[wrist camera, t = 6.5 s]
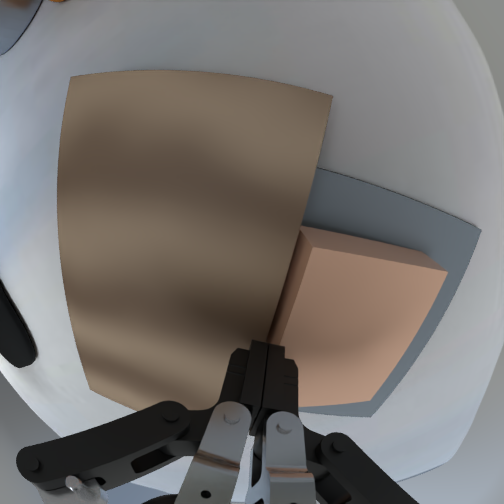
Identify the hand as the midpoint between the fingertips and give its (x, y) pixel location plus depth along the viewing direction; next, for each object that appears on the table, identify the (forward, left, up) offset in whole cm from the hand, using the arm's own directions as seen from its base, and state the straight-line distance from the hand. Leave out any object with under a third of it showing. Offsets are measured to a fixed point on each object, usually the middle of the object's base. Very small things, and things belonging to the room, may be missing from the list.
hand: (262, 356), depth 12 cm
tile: (0, +4, -4) cm, 5 cm away
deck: (0, -6, -5) cm, 8 cm away
